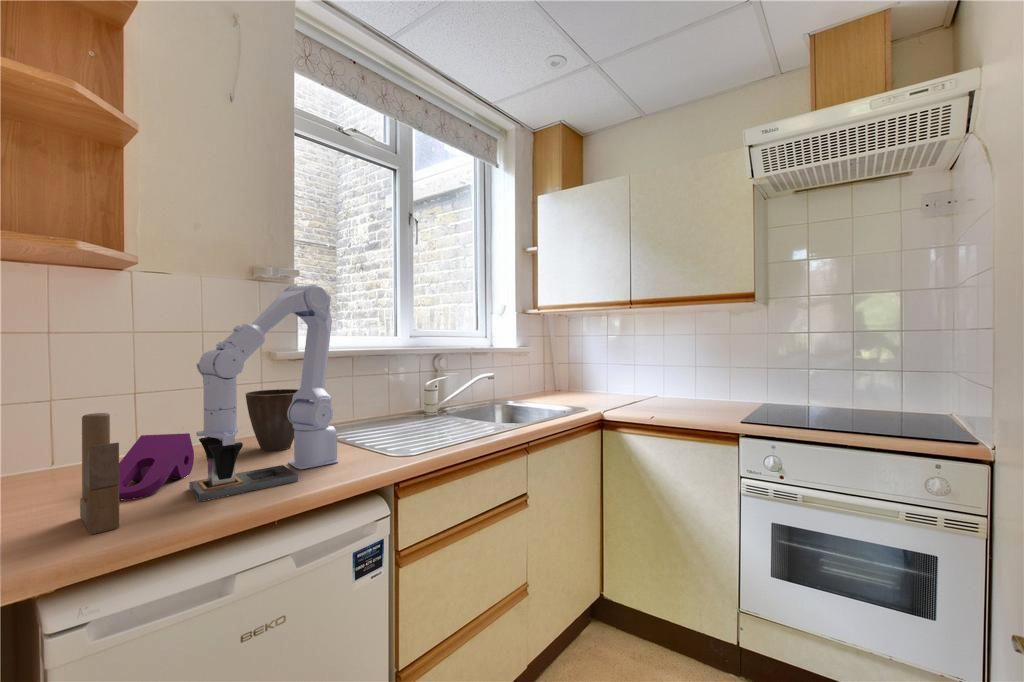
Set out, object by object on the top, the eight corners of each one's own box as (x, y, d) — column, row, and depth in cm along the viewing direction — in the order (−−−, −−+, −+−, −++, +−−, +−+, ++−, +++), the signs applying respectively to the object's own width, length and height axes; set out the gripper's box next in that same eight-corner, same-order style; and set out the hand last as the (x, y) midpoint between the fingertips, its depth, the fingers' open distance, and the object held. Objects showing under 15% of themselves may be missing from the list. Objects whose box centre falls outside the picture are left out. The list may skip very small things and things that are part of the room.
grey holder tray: (282, 471, 106) (282, 464, 106) (298, 481, 98) (298, 473, 98) (189, 489, 93) (189, 481, 93) (199, 502, 86) (199, 493, 86)
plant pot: (237, 448, 127) (237, 391, 127) (292, 439, 138) (292, 387, 138) (256, 458, 117) (256, 396, 117) (314, 447, 128) (314, 391, 128)
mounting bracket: (161, 522, 91) (196, 462, 107) (152, 491, 87) (189, 433, 103) (106, 527, 89) (150, 464, 104) (93, 494, 85) (141, 435, 101)
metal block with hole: (230, 485, 96) (230, 454, 96) (235, 490, 93) (235, 458, 93) (207, 490, 93) (207, 458, 93) (212, 494, 90) (212, 462, 90)
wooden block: (89, 535, 71) (89, 422, 71) (79, 518, 78) (79, 414, 78) (120, 528, 74) (120, 418, 74) (108, 511, 81) (107, 411, 81)
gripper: (190, 406, 95) (190, 470, 95) (204, 414, 85) (204, 487, 85) (228, 403, 100) (228, 464, 100) (247, 410, 89) (247, 479, 90)
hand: (220, 474), depth 93 cm, fingers open, 7 cm apart
